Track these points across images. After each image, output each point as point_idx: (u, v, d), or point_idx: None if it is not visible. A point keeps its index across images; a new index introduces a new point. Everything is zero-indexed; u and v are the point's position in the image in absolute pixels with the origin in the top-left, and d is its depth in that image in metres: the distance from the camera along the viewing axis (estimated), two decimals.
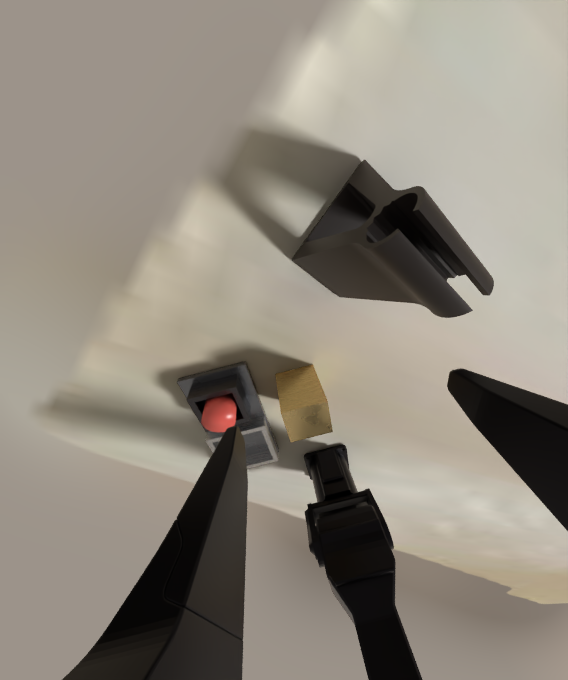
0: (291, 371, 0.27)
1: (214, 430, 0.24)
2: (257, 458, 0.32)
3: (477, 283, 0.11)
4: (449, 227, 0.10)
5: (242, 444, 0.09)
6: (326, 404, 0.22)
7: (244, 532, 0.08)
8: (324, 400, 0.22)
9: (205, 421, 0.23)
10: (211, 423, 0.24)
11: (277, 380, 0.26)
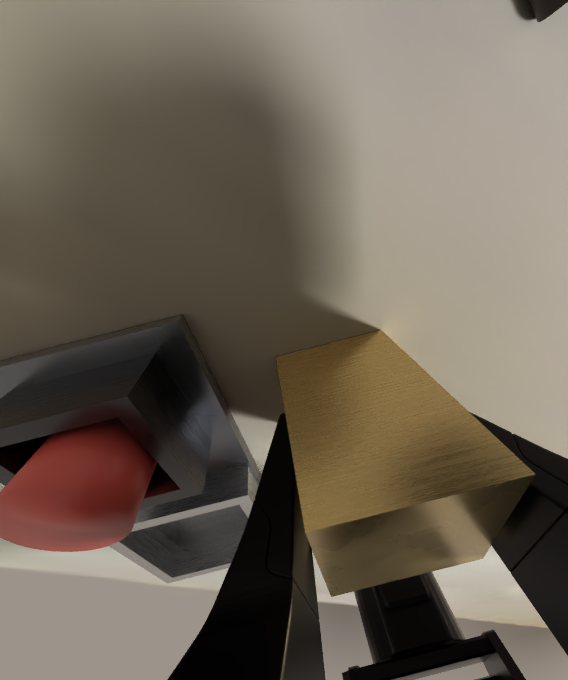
0: (322, 349, 0.09)
1: (62, 547, 0.07)
2: (237, 546, 0.15)
3: None
4: None
5: None
6: (522, 486, 0.05)
7: None
8: (513, 467, 0.05)
9: (8, 528, 0.06)
10: (37, 531, 0.06)
11: (282, 375, 0.08)
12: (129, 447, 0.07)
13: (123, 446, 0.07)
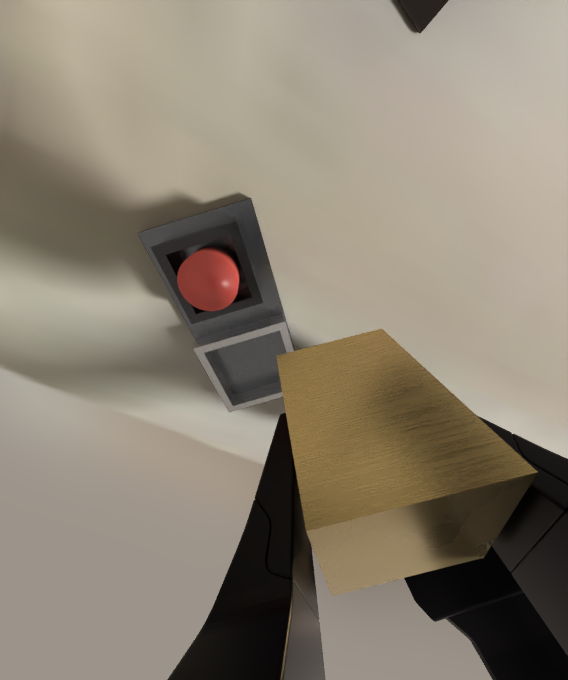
0: (322, 348, 0.09)
1: (202, 306, 0.14)
2: (274, 388, 0.22)
3: None
4: None
5: None
6: (524, 484, 0.05)
7: None
8: (515, 465, 0.04)
9: (184, 283, 0.13)
10: (195, 289, 0.13)
11: (282, 373, 0.08)
12: (231, 259, 0.14)
13: (228, 257, 0.14)
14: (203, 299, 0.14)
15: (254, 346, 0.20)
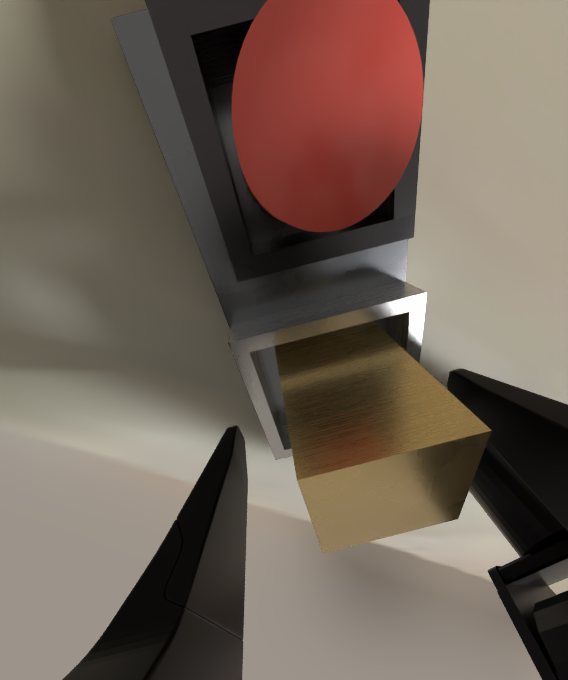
0: (316, 337, 0.10)
1: (294, 211, 0.05)
2: None
3: None
4: None
5: (242, 444, 0.09)
6: (481, 442, 0.05)
7: (244, 532, 0.08)
8: (474, 425, 0.05)
9: (256, 111, 0.04)
10: (286, 142, 0.04)
11: (279, 359, 0.09)
12: None
13: None
14: (301, 187, 0.04)
15: None
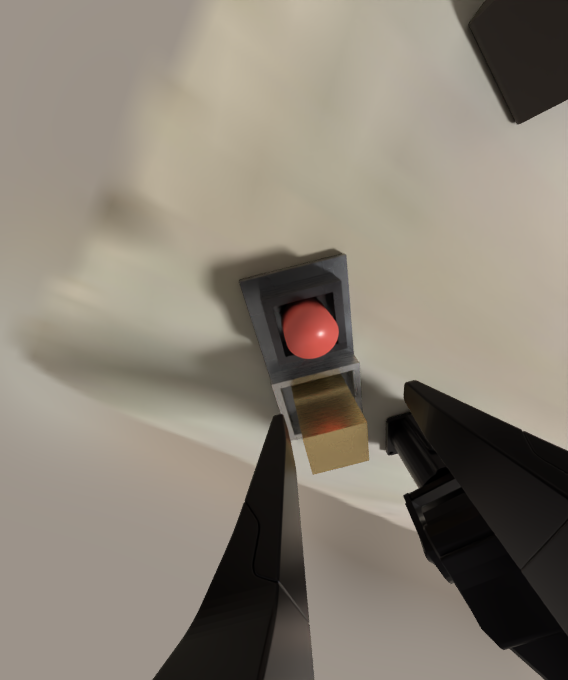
0: None
1: (302, 354, 0.15)
2: None
3: None
4: None
5: (288, 432, 0.09)
6: (365, 426, 0.16)
7: (299, 518, 0.08)
8: (362, 420, 0.16)
9: (292, 335, 0.14)
10: (300, 340, 0.15)
11: (293, 390, 0.20)
12: None
13: (326, 310, 0.15)
14: (304, 349, 0.15)
15: None
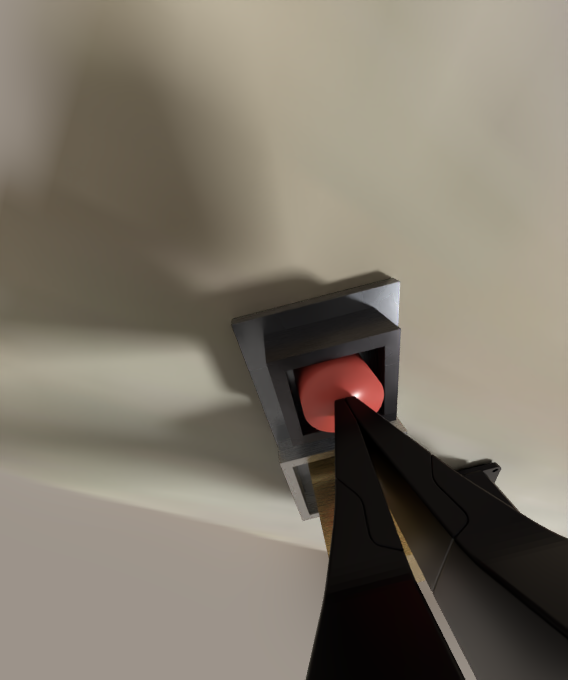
0: None
1: (326, 427, 0.10)
2: None
3: None
4: None
5: None
6: None
7: None
8: None
9: (313, 404, 0.09)
10: (325, 410, 0.10)
11: (310, 466, 0.14)
12: (364, 361, 0.10)
13: (363, 360, 0.10)
14: (330, 420, 0.10)
15: None
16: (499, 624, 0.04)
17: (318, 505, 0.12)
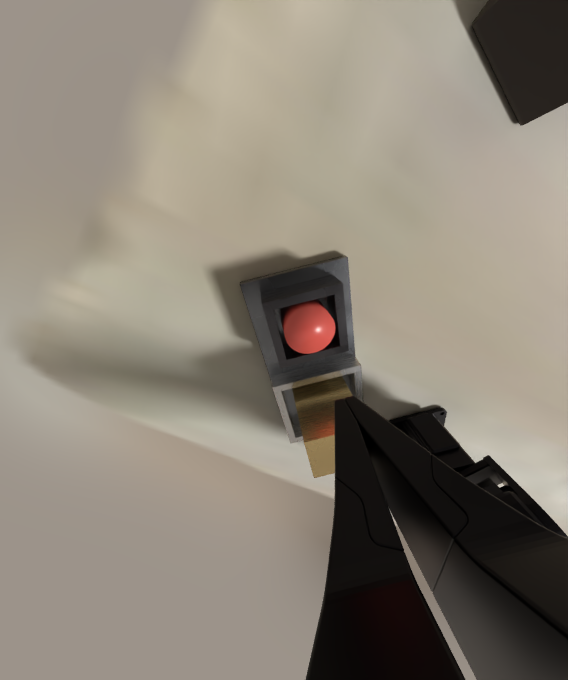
0: None
1: (300, 349, 0.16)
2: None
3: None
4: None
5: None
6: None
7: None
8: None
9: (291, 331, 0.15)
10: (298, 336, 0.15)
11: (294, 393, 0.20)
12: None
13: (324, 307, 0.16)
14: (302, 344, 0.16)
15: None
16: (499, 624, 0.04)
17: (298, 412, 0.18)
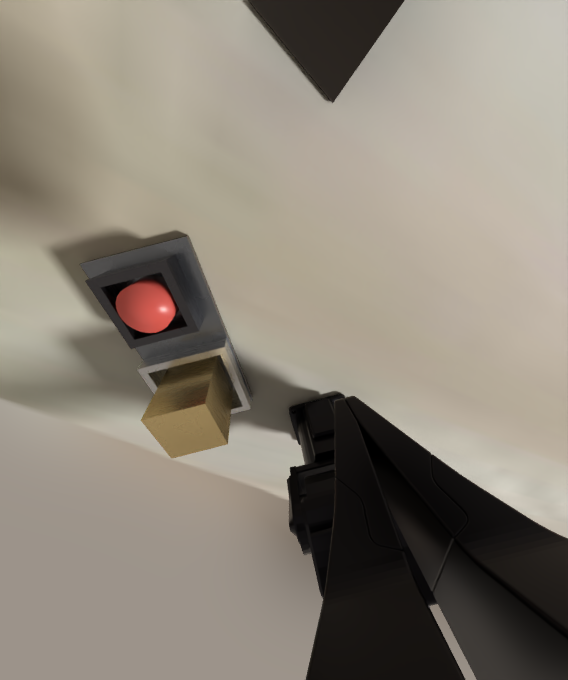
0: (187, 364, 0.20)
1: (140, 328, 0.16)
2: None
3: None
4: None
5: None
6: (205, 408, 0.16)
7: None
8: (202, 402, 0.16)
9: (123, 309, 0.15)
10: (133, 314, 0.15)
11: (165, 376, 0.20)
12: (168, 288, 0.16)
13: (166, 286, 0.16)
14: (141, 323, 0.16)
15: None
16: (499, 624, 0.04)
17: (155, 393, 0.18)
